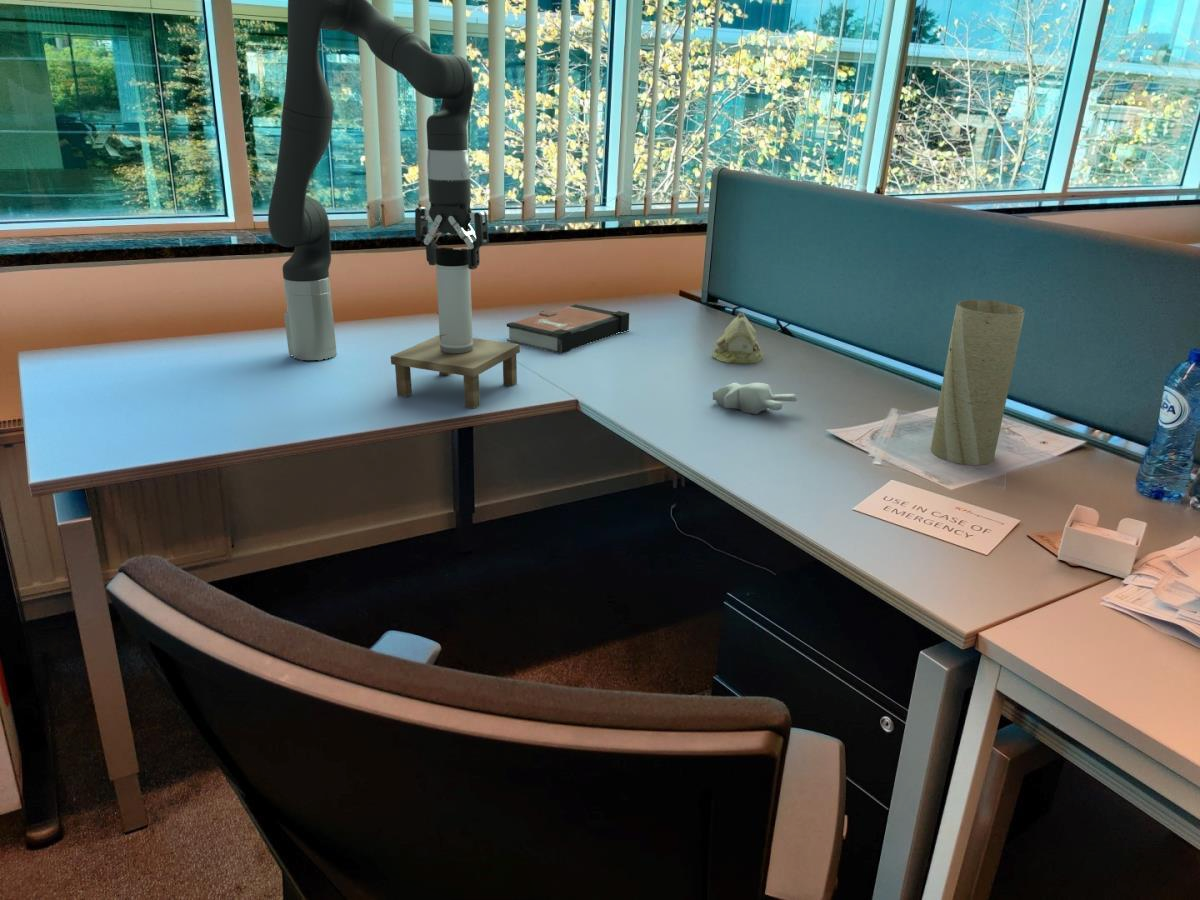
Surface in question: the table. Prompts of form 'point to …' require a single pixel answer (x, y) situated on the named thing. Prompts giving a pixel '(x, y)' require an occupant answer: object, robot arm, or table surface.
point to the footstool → (457, 364)
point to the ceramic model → (738, 343)
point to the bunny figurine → (750, 397)
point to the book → (567, 327)
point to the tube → (976, 380)
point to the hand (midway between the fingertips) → (453, 266)
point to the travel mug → (454, 300)
